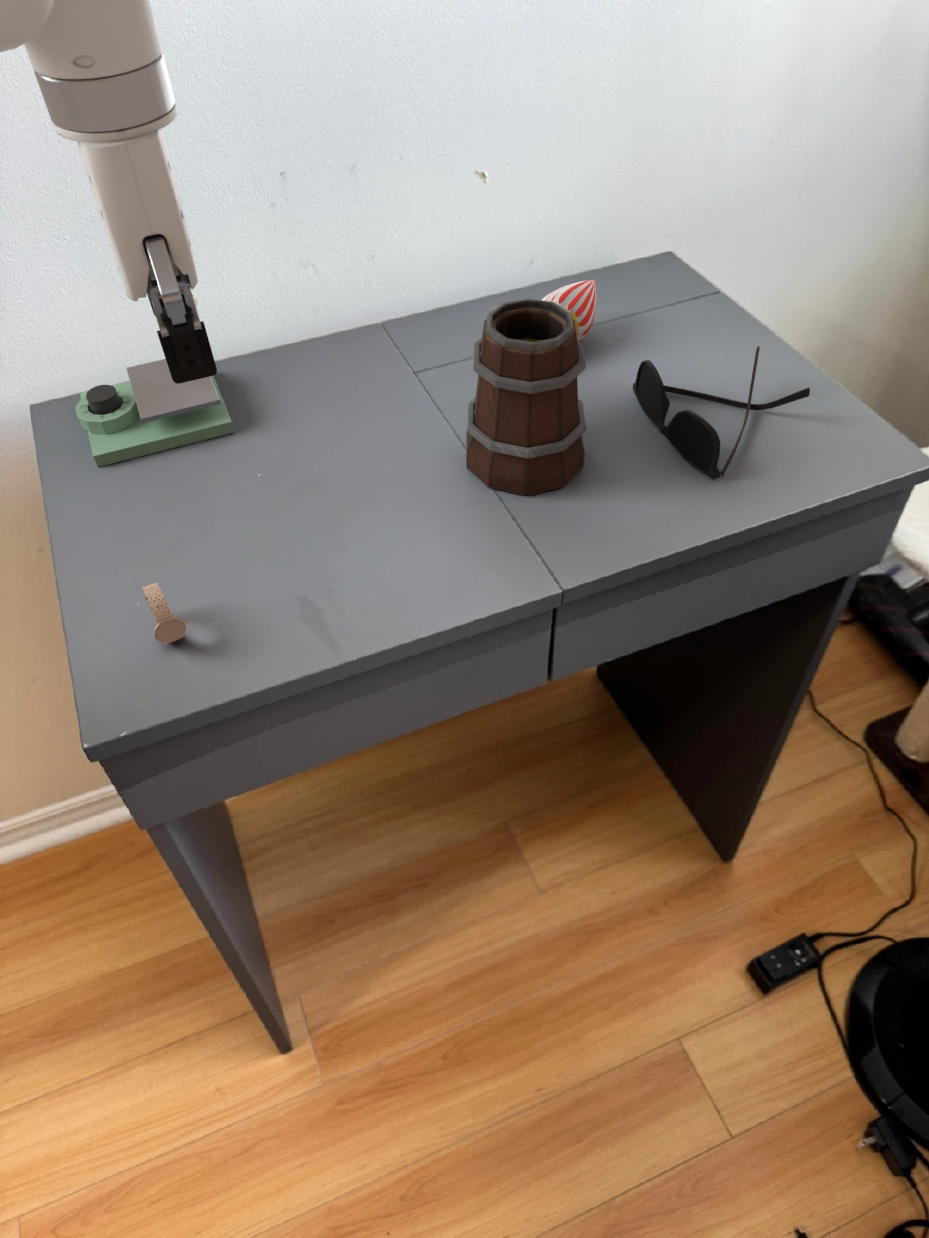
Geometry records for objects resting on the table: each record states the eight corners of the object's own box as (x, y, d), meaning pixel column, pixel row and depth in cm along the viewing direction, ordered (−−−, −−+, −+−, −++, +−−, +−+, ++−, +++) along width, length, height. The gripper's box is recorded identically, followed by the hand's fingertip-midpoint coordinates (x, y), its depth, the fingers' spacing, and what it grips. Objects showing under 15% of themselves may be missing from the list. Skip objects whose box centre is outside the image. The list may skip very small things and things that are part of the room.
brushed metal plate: (142, 423, 88) (140, 418, 87) (127, 372, 94) (126, 367, 93) (221, 404, 89) (219, 399, 89) (202, 355, 96) (200, 350, 95)
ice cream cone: (497, 421, 99) (588, 308, 105) (534, 415, 93) (627, 296, 100) (465, 378, 95) (561, 264, 102) (502, 369, 90) (600, 250, 97)
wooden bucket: (602, 479, 85) (619, 341, 74) (484, 506, 83) (483, 368, 71) (544, 391, 95) (551, 257, 83) (438, 413, 93) (430, 279, 81)
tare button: (93, 418, 89) (87, 404, 88) (90, 403, 91) (84, 388, 89) (123, 411, 90) (117, 397, 88) (119, 396, 91) (113, 381, 90)
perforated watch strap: (163, 657, 71) (145, 616, 68) (146, 619, 74) (128, 578, 70) (195, 643, 72) (178, 603, 68) (177, 607, 75) (160, 566, 71)
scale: (93, 468, 88) (82, 444, 86) (79, 404, 95) (69, 380, 93) (234, 432, 91) (228, 408, 89) (211, 373, 99) (204, 349, 96)
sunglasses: (828, 452, 87) (844, 409, 83) (701, 486, 84) (711, 444, 80) (738, 364, 97) (748, 323, 94) (621, 392, 94) (627, 351, 91)
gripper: (37, 60, 58) (121, 300, 71) (55, 157, 47) (150, 419, 60) (151, 43, 59) (213, 281, 72) (194, 133, 49) (257, 393, 62)
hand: (184, 343), depth 66 cm, fingers open, 9 cm apart
